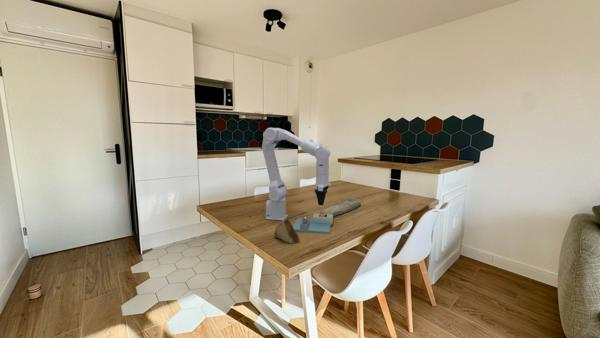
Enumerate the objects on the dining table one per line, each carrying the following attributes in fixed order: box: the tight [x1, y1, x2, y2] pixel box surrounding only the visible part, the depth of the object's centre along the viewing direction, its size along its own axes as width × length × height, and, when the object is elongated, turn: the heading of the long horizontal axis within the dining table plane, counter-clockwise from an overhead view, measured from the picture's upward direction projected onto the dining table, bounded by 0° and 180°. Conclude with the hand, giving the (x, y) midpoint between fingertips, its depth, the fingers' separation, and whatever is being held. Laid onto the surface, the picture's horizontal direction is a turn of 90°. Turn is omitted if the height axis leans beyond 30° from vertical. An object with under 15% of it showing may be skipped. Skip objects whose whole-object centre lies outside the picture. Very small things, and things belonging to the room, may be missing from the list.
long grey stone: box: [319, 197, 362, 218], centre depth 138 cm, size 35×5×10 cm
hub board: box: [293, 218, 331, 235], centre depth 114 cm, size 16×14×1 cm
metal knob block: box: [300, 216, 311, 230], centre depth 112 cm, size 3×8×5 cm, turn 171°
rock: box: [273, 217, 301, 244], centre depth 100 cm, size 11×9×10 cm
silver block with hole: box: [312, 212, 334, 225], centre depth 118 cm, size 6×9×3 cm, turn 81°
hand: (321, 202), depth 117 cm, fingers open, 7 cm apart
